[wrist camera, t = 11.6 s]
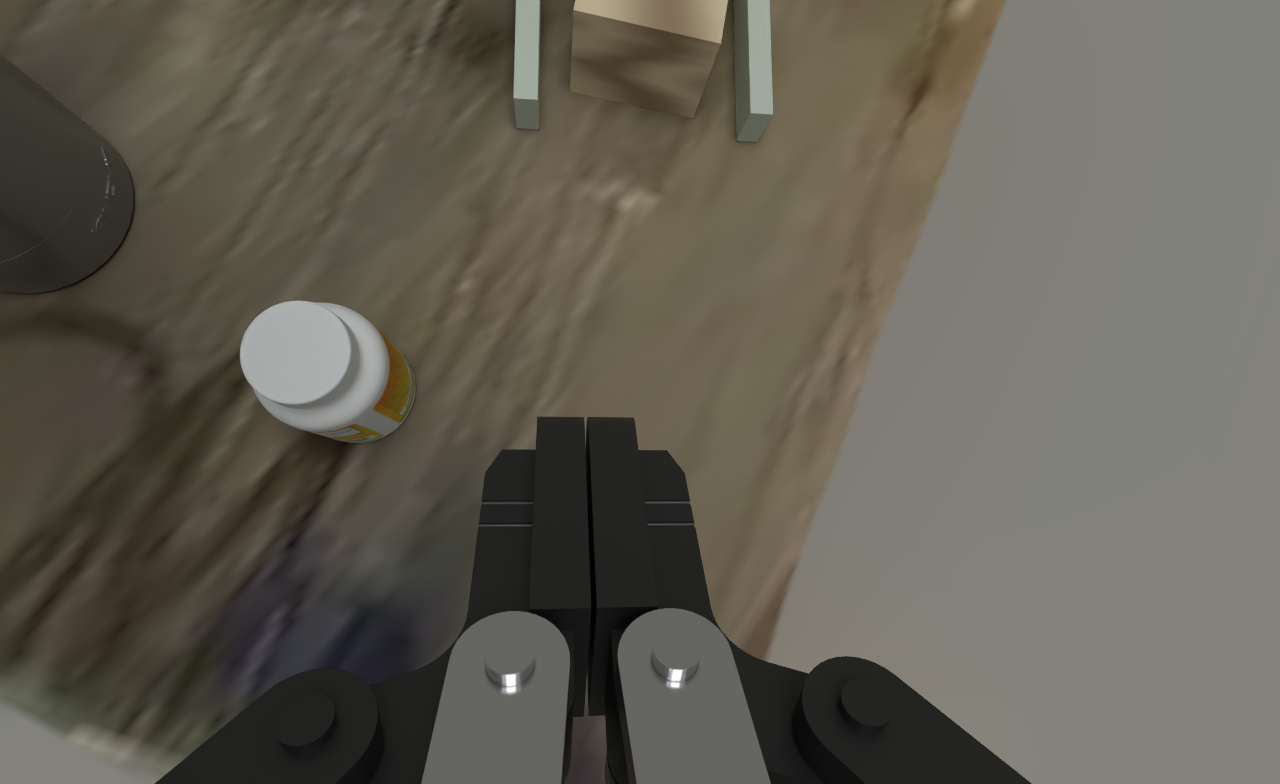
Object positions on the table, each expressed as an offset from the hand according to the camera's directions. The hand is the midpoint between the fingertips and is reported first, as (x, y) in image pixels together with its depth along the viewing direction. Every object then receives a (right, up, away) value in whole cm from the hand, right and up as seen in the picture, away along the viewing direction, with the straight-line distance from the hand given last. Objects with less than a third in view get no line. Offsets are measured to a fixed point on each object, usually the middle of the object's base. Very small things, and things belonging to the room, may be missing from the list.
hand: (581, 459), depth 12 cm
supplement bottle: (-13, +1, +25) cm, 28 cm away
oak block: (+1, +23, +30) cm, 38 cm away
